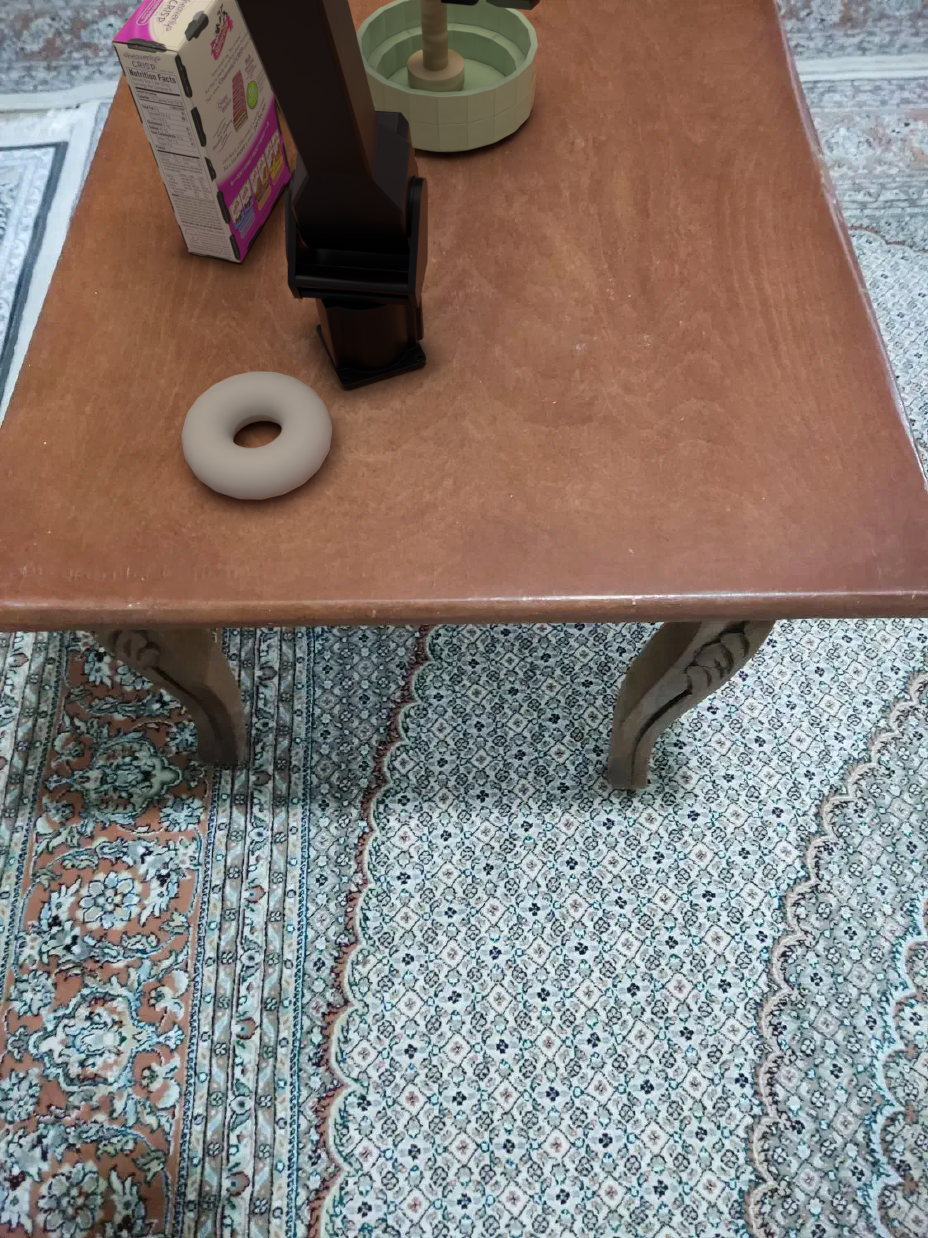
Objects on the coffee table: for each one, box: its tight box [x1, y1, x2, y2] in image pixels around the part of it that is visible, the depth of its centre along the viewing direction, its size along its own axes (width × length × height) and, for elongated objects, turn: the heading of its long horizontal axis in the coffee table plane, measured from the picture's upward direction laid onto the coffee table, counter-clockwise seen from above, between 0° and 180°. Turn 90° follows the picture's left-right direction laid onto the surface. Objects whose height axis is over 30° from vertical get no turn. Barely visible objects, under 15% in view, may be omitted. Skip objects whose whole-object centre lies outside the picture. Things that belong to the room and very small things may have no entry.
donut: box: [180, 370, 333, 501], centre depth 59 cm, size 10×4×10 cm
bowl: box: [356, 0, 539, 153], centre depth 76 cm, size 15×15×6 cm
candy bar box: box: [111, 0, 292, 264], centre depth 65 cm, size 11×5×16 cm, turn 164°
